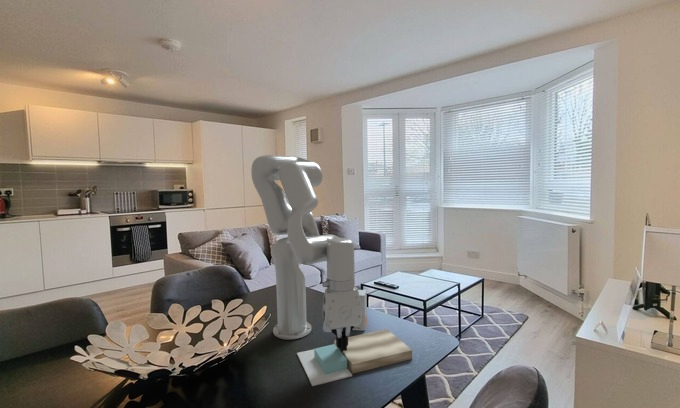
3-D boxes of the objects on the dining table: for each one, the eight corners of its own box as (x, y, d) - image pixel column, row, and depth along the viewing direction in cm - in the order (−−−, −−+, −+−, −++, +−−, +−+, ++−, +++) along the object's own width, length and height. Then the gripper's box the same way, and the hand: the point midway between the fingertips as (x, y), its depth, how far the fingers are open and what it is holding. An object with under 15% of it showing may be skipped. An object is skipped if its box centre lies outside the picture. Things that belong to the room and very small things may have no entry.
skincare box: (365, 331, 107) (364, 295, 106) (352, 330, 108) (351, 295, 107) (367, 323, 113) (366, 289, 112) (355, 322, 114) (354, 289, 113)
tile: (314, 357, 91) (314, 348, 91) (334, 352, 93) (334, 344, 93) (325, 374, 83) (325, 365, 83) (347, 368, 85) (346, 359, 85)
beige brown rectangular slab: (334, 348, 97) (333, 340, 97) (387, 336, 103) (387, 329, 103) (352, 373, 84) (352, 364, 83) (412, 358, 90) (412, 350, 90)
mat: (297, 354, 94) (296, 352, 94) (331, 346, 97) (331, 345, 97) (312, 386, 79) (312, 384, 79) (352, 376, 83) (352, 374, 83)
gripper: (318, 291, 83) (320, 361, 84) (371, 284, 88) (372, 349, 89) (310, 283, 90) (312, 347, 91) (360, 276, 95) (361, 337, 96)
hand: (342, 348), depth 90 cm, fingers closed
